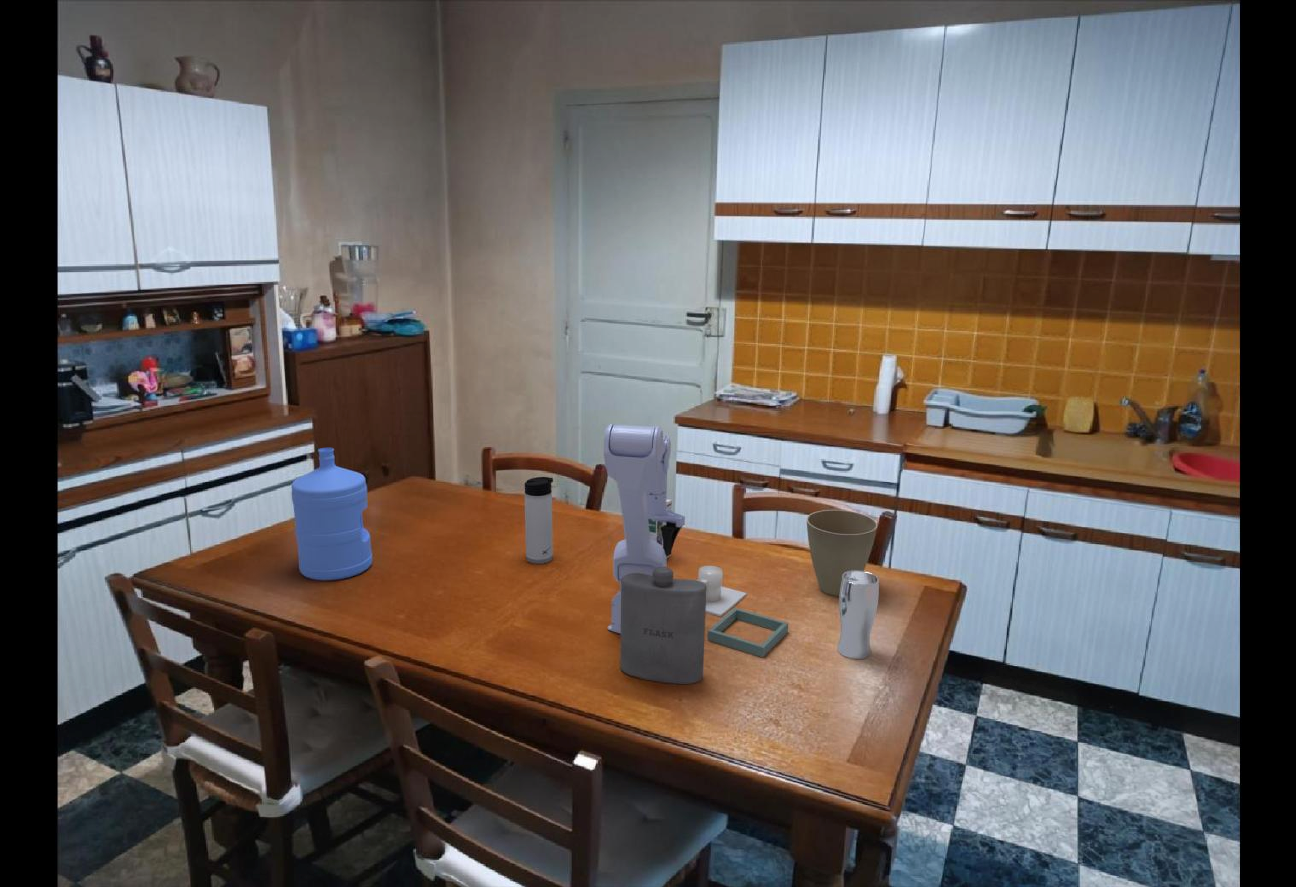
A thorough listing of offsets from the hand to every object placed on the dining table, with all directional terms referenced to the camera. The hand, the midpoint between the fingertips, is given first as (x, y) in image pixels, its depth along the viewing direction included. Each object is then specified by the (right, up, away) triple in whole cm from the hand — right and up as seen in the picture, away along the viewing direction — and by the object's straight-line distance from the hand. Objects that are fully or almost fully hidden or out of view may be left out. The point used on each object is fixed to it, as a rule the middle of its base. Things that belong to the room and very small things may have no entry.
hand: (651, 551), depth 171 cm
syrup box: (+1, -5, +20) cm, 21 cm away
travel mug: (-26, -5, +18) cm, 32 cm away
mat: (+12, -10, 0) cm, 16 cm away
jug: (+12, -10, -1) cm, 15 cm away
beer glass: (+38, -16, -21) cm, 46 cm away
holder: (+19, -14, -16) cm, 28 cm away
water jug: (-72, -6, +12) cm, 73 cm away
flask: (+1, -18, -29) cm, 34 cm away
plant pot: (+41, -9, +5) cm, 42 cm away
